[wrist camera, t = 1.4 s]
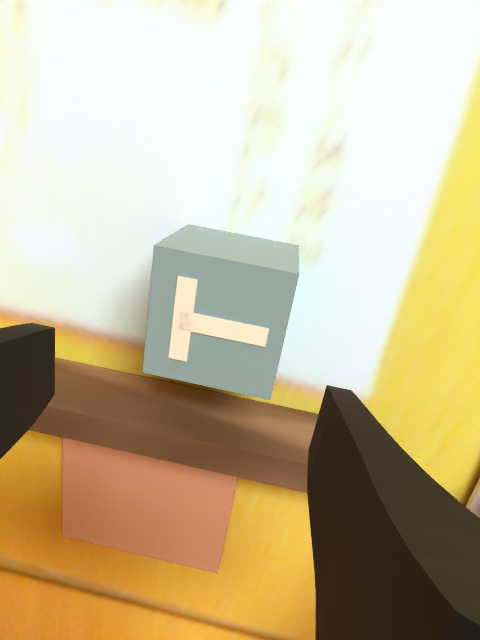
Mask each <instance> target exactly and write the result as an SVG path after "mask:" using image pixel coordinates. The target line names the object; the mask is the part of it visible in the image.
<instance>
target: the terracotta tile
mask: <svg viewBox="0 0 480 640" xmlns="http://www.w3.org/2000/svg"><path fill="white" fill-rule="evenodd" d="M237 480H238V477H235V476H230V475H226V474H221V473H217V472H213V471H208V470H204V469H199V468H195V467H191V466H186V465H182V464H177V463H173V462H168V461H164V460H160V459H155V458H151V457H146V456H142V455H138V454H133V453H129V452H124V451H120V450H116V449H111V448H107V447H102V446H98V445H93V444H89V443H85V442H80V441H76V440H71V439H67V438H63V484H62V536H64V537H68V538H72V539H76V540H80V541H85V542H89V543H93V544H97V545H101V546H105V547H109V548H114V549H118V550H122V551H126V552H130V553H134V554H139V555H143V556H147V557H151V558H155V559H159V560H164V561H168V562H172V563H176V564H180V565H184V566H188V567H193V568H197V569H201V570H205V571H209V572H213V573H218V570H219V565H220V560H221V555H222V551H223V546H224V541H225V537H226V532H227V527H228V522H229V518H230V513H231V508H232V504H233V499H234V494H235V489H236V485H237Z"/></svg>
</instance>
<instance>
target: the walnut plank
mask: <svg viewBox="0 0 480 640" xmlns="http://www.w3.org/2000/svg"><path fill="white" fill-rule="evenodd" d="M318 415H319V414H315V413H310V412H306V411H301V410H296V409H292V408H287V407H283V406H278V405H273V404H269V403H264V402H259V401H255V400H250V399H245V398H241V397H236V396H231V395H227V394H222V393H218V392H213V391H208V390H204V389H199V388H194V387H190V386H185V385H180V384H176V383H171V382H166V381H162V380H157V379H152V378H148V377H143V376H139V375H134V374H129V373H125V372H120V371H115V370H111V369H106V368H101V367H97V366H92V365H87V364H83V363H78V362H74V361H69V360H64V359H60V358H55V395H54V396H53V398H52V399H51V401H50V402H49V404H48V405H47V407H46V408H45V409H44V411H43V412H42V414H41V415H40V416H39V418H38V419H37V420H36V422H35V423H34V424H33V425H32V426H31V427H30V429H29V430H32V431H36V432H40V433H45V434H49V435H54V436H58V437H63V438H67V439H71V440H76V441H80V442H85V443H89V444H93V445H98V446H102V447H107V448H111V449H116V450H120V451H124V452H129V453H133V454H138V455H142V456H146V457H151V458H155V459H160V460H164V461H168V462H173V463H177V464H182V465H186V466H191V467H195V468H199V469H204V470H208V471H213V472H217V473H221V474H226V475H230V476H235V477H239V478H244V479H248V480H252V481H257V482H261V483H266V484H270V485H274V486H279V487H283V488H288V489H292V490H297V491H301V492H305V493H308V492H307V469H308V450H309V446H310V443H311V439H312V436H313V432H314V429H315V425H316V422H317V418H318Z"/></svg>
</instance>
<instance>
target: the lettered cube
mask: <svg viewBox="0 0 480 640" xmlns="http://www.w3.org/2000/svg"><path fill="white" fill-rule="evenodd" d="M298 277H299V246H298V245H293V244H288V243H283V242H278V241H272V240H267V239H262V238H257V237H252V236H246V235H241V234H236V233H231V232H226V231H221V230H215V229H210V228H205V227H200V226H195V225H187V226H185V227H184V228H182V229H180V230H179V231H177V232H175V233H174V234H172V235H170V236H169V237H167V238H165V239H164V240H162V241H160V242H158V243H157V244H155V245H154V251H153V262H152V273H151V284H150V295H149V306H148V318H147V329H146V340H145V351H144V362H143V373H147V374H152V375H156V376H161V377H166V378H170V379H175V380H180V381H184V382H189V383H194V384H198V385H203V386H208V387H212V388H217V389H222V390H226V391H231V392H236V393H240V394H245V395H250V396H254V397H259V398H263V399H268V400H270V399H271V394H272V390H273V386H274V381H275V377H276V373H277V368H278V364H279V360H280V355H281V351H282V346H283V342H284V338H285V333H286V329H287V325H288V320H289V316H290V312H291V307H292V303H293V298H294V294H295V290H296V285H297V281H298Z"/></svg>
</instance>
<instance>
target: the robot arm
mask: <svg viewBox="0 0 480 640" xmlns="http://www.w3.org/2000/svg"><path fill="white" fill-rule="evenodd" d="M54 395H55V328H53V327H48V326H44V325H39V324H34V323H30V324H21V325H15V326H10V327H5V328H0V459H1V458H2V457H3V456H4V455H5V454H6V453H7V452H8V451H9V450H10V449H11V448H12V446H13V445H14V444H15V443H16V442H17V441H18V440H19V439H20V438H21V437H22V436H23V435H24V434H25V433H26V432H27V431H28V430H29V429H30V427H31V426H32V425H33V424H34V423H35V422H36V420H37V419H38V418H39V416H40V415H41V414H42V412H43V411H44V409H45V408H46V407H47V405H48V404H49V402H50V401H51V399H52V398H53V396H54ZM307 492H308V504H309V516H310V527H311V537H312V548H313V559H314V570H315V587H316V640H480V478H479V481H478V483H477V485H476V487H475V489H474V491H473V493H472V495H471V497H470V499H469V501H468V503H467V505H466V507H465V506H464V505H463V504H461V503H460V502H459V501H458V500H457V499H455V498H454V497H453V496H452V495H451V494H450V493H449V492H447V491H446V490H445V489H444V488H443V487H442V486H440V485H439V484H438V483H437V482H436V481H435V480H434V479H433V478H431V477H430V476H429V475H428V474H427V473H426V472H425V471H424V470H423V469H422V468H421V467H420V466H419V465H418V464H417V463H416V462H415V461H414V460H413V459H412V458H411V457H410V456H409V455H408V454H407V453H406V452H405V451H404V450H403V449H402V448H401V447H400V446H399V445H398V443H397V442H396V441H395V440H394V439H393V438H392V437H391V436H390V435H389V434H388V432H387V431H386V430H385V429H384V428H383V427H382V426H381V424H380V423H379V422H378V421H377V420H376V419H375V417H374V416H373V415H372V414H371V413H370V411H369V410H368V409H367V408H366V407H365V406H364V404H363V403H362V402H361V401H360V400H359V398H358V397H357V396H356V395H355V394H354V393H353V392H352V391H351V390H347V389H342V388H337V387H333V386H328V385H327V387H326V390H325V394H324V397H323V401H322V404H321V408H320V411H319V415H318V418H317V422H316V425H315V429H314V432H313V436H312V439H311V443H310V446H309V450H308V469H307Z"/></svg>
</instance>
